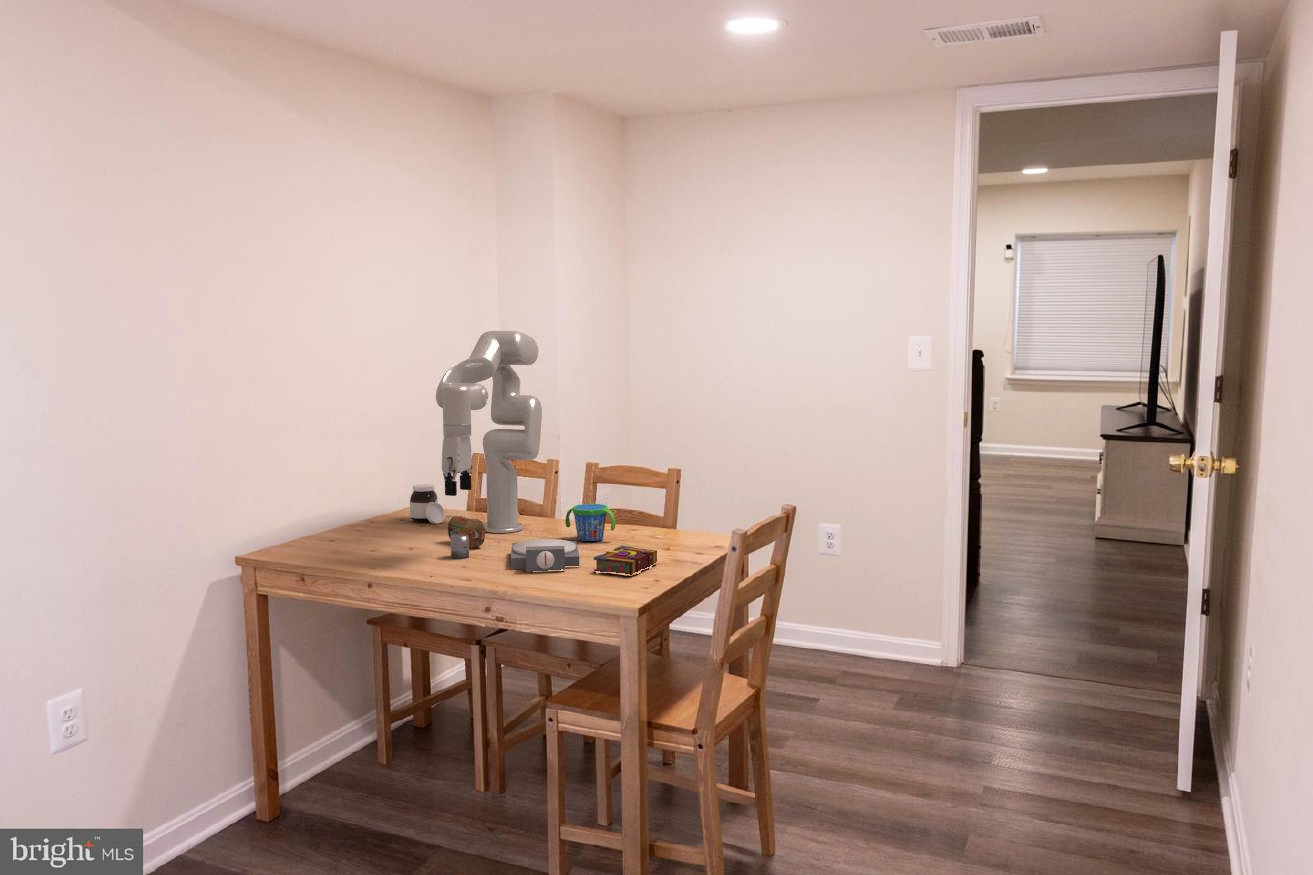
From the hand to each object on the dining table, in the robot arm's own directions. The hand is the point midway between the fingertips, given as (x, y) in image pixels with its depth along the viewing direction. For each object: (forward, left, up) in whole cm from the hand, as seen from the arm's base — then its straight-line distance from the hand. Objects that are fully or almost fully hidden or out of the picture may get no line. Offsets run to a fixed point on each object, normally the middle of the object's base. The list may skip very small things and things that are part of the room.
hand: (458, 492), depth 271 cm
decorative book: (+2, +48, -19) cm, 51 cm away
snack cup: (-29, +29, -18) cm, 45 cm away
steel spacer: (0, 0, -18) cm, 18 cm away
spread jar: (-43, -30, -18) cm, 56 cm away
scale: (0, +25, -18) cm, 31 cm away
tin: (-14, -4, -18) cm, 24 cm away
